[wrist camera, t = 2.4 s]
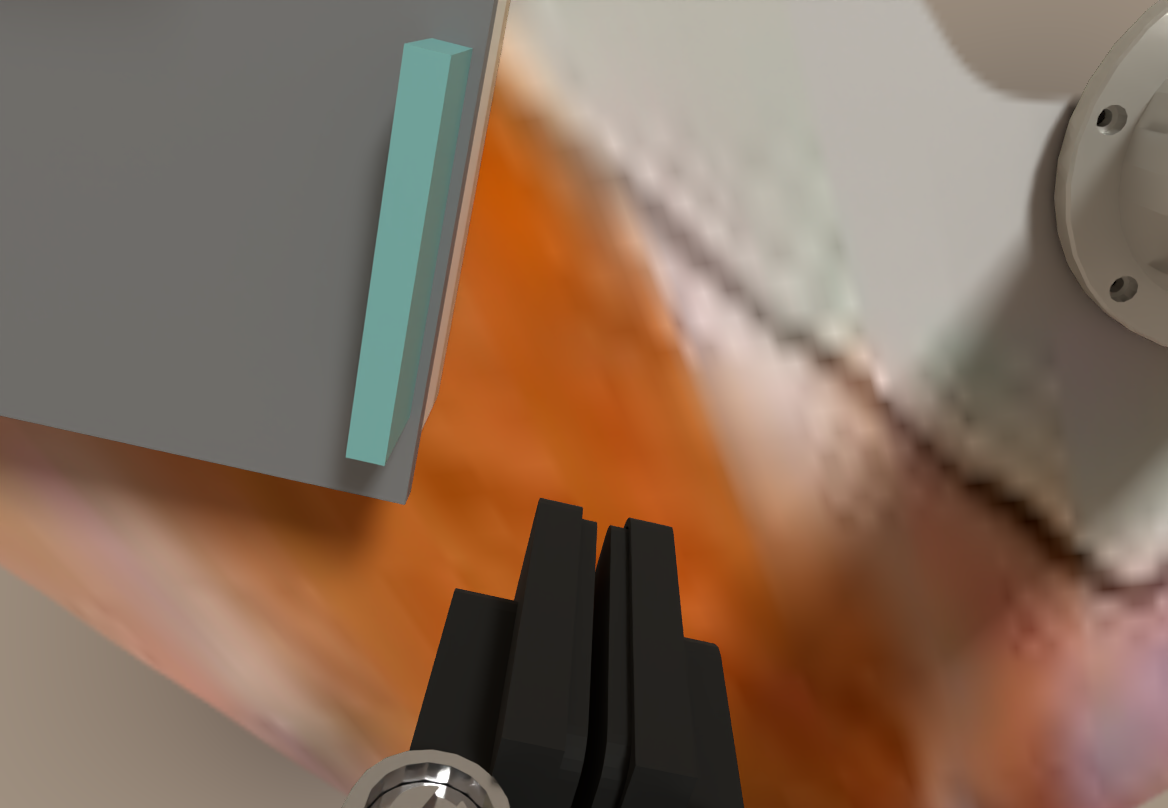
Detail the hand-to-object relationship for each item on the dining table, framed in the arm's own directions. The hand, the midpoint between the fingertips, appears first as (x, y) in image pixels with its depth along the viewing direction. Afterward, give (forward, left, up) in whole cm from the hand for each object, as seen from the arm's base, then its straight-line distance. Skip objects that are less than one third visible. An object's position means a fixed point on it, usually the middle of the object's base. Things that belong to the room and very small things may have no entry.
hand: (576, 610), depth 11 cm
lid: (+14, 0, -15) cm, 21 cm away
